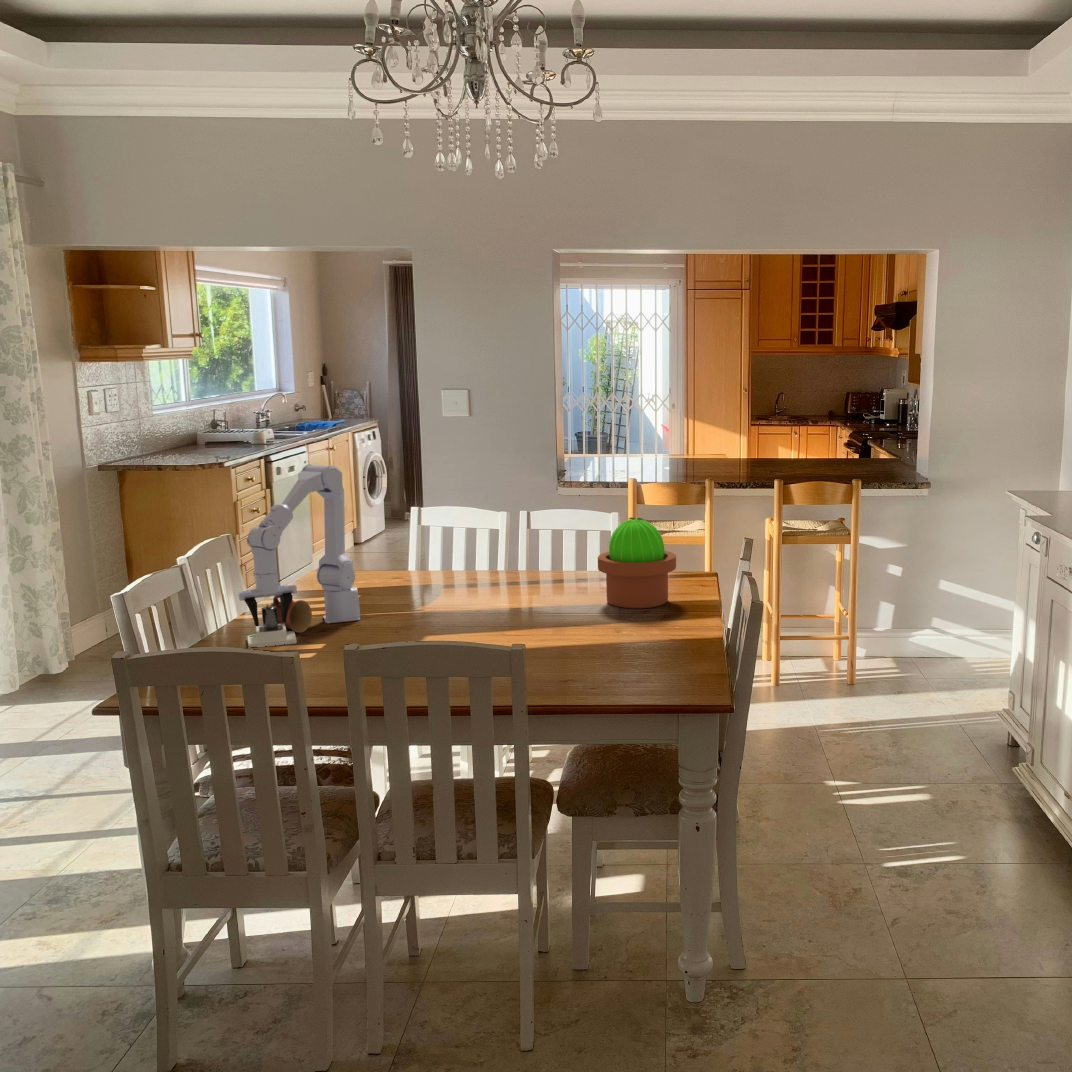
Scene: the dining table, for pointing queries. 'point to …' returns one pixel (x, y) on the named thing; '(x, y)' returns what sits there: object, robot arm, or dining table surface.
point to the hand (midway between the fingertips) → (270, 623)
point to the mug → (295, 615)
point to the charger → (271, 637)
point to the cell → (269, 618)
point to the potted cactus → (636, 566)
